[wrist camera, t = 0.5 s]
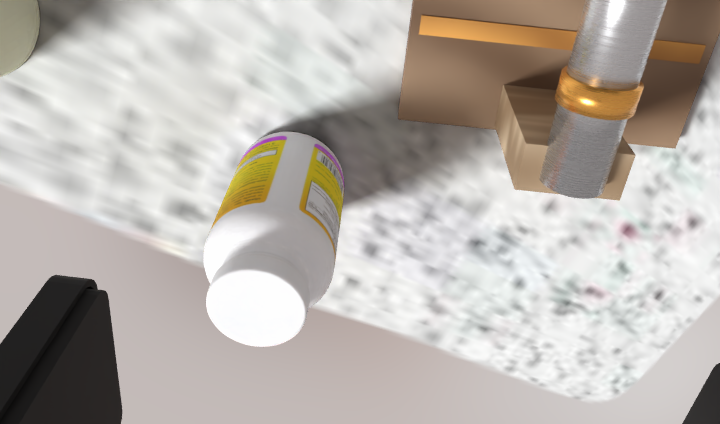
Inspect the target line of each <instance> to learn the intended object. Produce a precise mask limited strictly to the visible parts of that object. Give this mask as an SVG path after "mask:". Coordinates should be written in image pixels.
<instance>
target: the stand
mask: <svg viewBox="0 0 720 424" xmlns="http://www.w3.org/2000/svg"><path fill="white" fill-rule="evenodd" d="M584 4H585V0H413V3H412V11H411V18H410V26H409V34H408V41H407V49H406V56H405V64H404V72H403V79H402V87H401V95H400V102H399V110H398V119H399V120H409V121H418V122H428V123H438V124H447V125H457V126H466V127H476V128H485V129H495V130H496V131H497V134H498V137H499V140H500V144H501V147H502V150H503V153H504V157H505V160H506V163H507V166H508V170H509V173H510V176H511V179H512V183H513V186H514V189H516V190H525V191H535V192H545V193H554V194H559V193H557V192H554V191H552V190H551V189H549V188H547V187H546V186H545V185H543V184H542V182H541V181H540V179H539V177H540V173H541V170H542V166H543V162H544V159H545V155H546V151H547V148H548V144H547V142H548V138H549V134H550V131H551V127H552V123H553V120H554V116H555V112H556V108H557V105H558V102H557V101H556V100H555V94H556V90H557V86H558V83H559V79H560V75H561V71H562V69H563V68H564V67H565V66H568V64H569V60H570V56H571V52H572V49H573V45H574V41H575V38H576V34H577V30H578V26H579V23H580V19H581V15H582V11H583V8H584ZM719 33H720V0H667V3H666V6H665V9H664V12H663V15H662V18H661V21H660V24H659V27H658V30H657V33H656V36H655V39H654V42H653V45H652V48H651V51H650V54H649V57H648V60H647V63H646V66H645V69H644V72H643V75H642V78H641V82H642V83H643V85H644V88H643V91H642V94H641V97H640V100H639V103H638V106H637V109H636V112H635V114H634V116H633V117H631V118H629V119H628V120H627V123H626V126H625V129H624V132H623V135H622V138H621V141H620V144H619V147H618V150H617V153H616V156H615V159H614V162H613V165H612V168H611V171H610V174H609V177H608V180H607V183H606V186H605V189H604V192H603V193H602V194H601V195H600V196H598V197H595V198H602V199H612V200H620V198H621V195H622V192H623V189H624V186H625V184H626V181H627V178H628V175H629V172H630V169H631V166H632V164H633V161H634V158H635V154H634V152H633V151H632V149H631V148H630V146H629V145H628V144H638V145H647V146H657V147H666V148H676V145H677V143H678V140H679V137H680V135H681V132H682V130H683V127H684V124H685V122H686V119H687V117H688V114H689V111H690V109H691V106H692V104H693V101H694V98H695V96H696V93H697V91H698V88H699V85H700V83H701V80H702V78H703V75H704V72H705V70H706V67H707V65H708V62H709V59H710V57H711V54H712V52H713V49H714V46H715V44H716V41H717V39H718V36H719ZM627 143H628V144H627Z"/></svg>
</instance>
